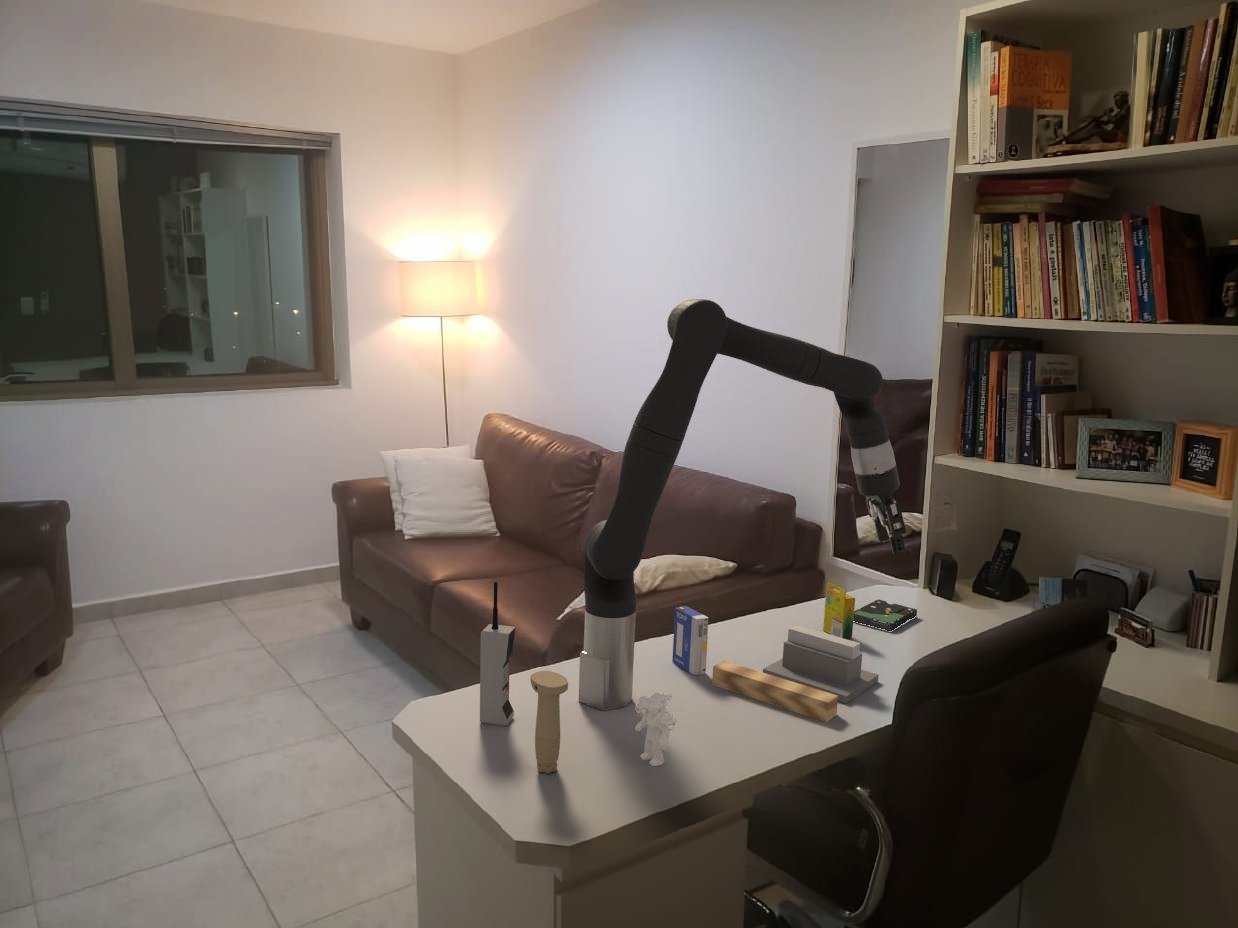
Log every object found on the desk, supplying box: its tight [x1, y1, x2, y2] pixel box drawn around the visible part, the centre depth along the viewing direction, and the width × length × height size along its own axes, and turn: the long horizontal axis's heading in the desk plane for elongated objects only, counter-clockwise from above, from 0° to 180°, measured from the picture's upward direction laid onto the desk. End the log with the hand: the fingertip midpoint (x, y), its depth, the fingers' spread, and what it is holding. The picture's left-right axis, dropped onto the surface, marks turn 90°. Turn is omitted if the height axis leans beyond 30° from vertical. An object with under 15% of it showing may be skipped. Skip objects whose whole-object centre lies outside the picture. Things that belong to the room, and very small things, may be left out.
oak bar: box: [711, 660, 839, 723], centre depth 173 cm, size 24×4×4 cm, turn 53°
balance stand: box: [762, 624, 879, 704], centre depth 183 cm, size 14×18×9 cm
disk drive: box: [853, 599, 918, 631], centre depth 220 cm, size 10×3×15 cm
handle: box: [530, 670, 569, 774], centre depth 143 cm, size 5×6×15 cm
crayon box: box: [822, 581, 856, 641], centre depth 207 cm, size 7×3×12 cm, turn 22°
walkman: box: [672, 605, 709, 676], centre depth 185 cm, size 8×3×12 cm, turn 31°
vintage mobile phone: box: [479, 581, 516, 727], centre depth 158 cm, size 4×5×25 cm
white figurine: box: [634, 692, 677, 767], centre depth 148 cm, size 9×4×12 cm, turn 33°
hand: (891, 547), depth 174 cm, fingers open, 8 cm apart
